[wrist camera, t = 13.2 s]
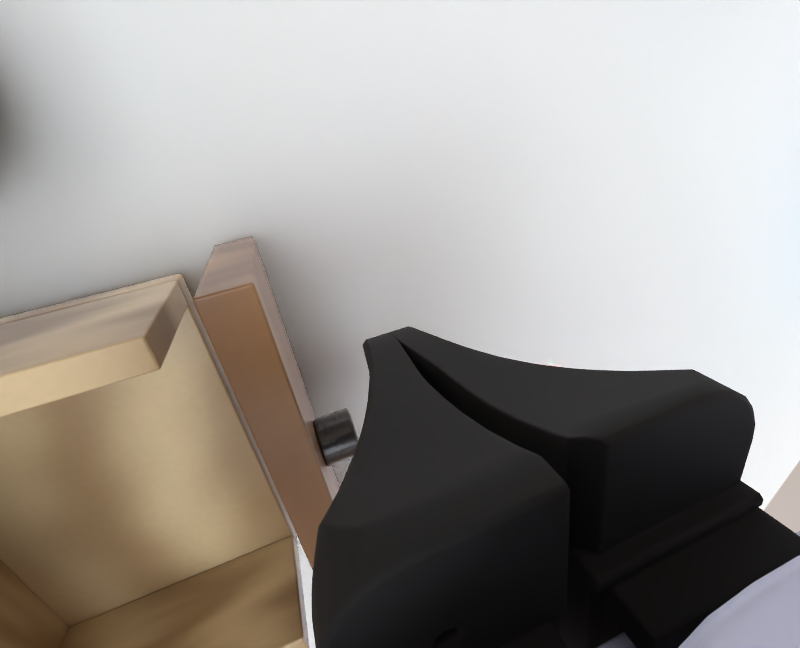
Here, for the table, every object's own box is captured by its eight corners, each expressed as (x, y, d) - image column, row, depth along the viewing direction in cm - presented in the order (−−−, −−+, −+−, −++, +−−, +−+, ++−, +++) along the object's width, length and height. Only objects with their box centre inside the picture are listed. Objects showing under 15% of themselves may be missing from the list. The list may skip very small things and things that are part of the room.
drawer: (291, 226, 13) (312, 267, 8) (373, 503, 18) (411, 614, 14) (-205, 346, 10) (-574, 503, 5) (74, 627, 16) (4, 814, 11)
